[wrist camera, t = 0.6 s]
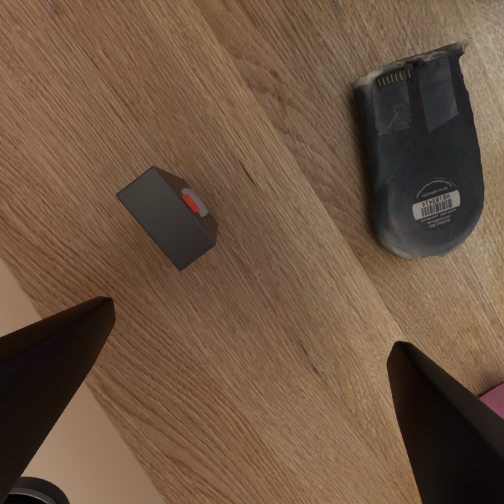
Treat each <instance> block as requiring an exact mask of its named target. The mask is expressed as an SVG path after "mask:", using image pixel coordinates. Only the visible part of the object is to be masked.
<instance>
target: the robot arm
mask: <svg viewBox="0 0 504 504" xmlns="http://www.w3.org/2000/svg"><path fill="white" fill-rule="evenodd" d="M115 320H116V317H115V309H114V302H113V299H112V298H110V297H104V296H98V297H95V298H93V299H90V300H88V301H86V302H83V303H81V304H79V305H76V306H74V307H71V308H69V309H67V310H64V311H62V312H60V313H57V314H55V315H52V316H50V317H48V318H45V319H43V320H40V321H38V322H36V323H33V324H31V325H29V326H26V327H24V328H22V329H19V330H17V331H15V332H12V333H10V334H7V335H5V336H2V337H0V504H42V503H33V502H23V501H14V500H5V499H6V498H7V496H8V495H9V493H10V492H11V490H12V488H13V487H14V485H15V484H16V482H17V481H18V479H19V478H20V476H21V475H22V473H23V472H24V470H25V469H26V467H27V466H28V464H29V463H30V461H31V459H32V458H33V457H34V455H35V454H36V452H37V450H38V449H39V447H40V446H41V444H42V443H43V441H44V440H45V438H46V437H47V435H48V434H49V432H50V430H51V429H52V427H53V426H54V425H55V423H56V422H57V420H58V418H59V417H60V416H61V414H62V412H63V411H64V409H65V408H66V406H67V405H68V403H69V402H70V400H71V399H72V397H73V396H74V394H75V393H76V391H77V390H78V388H79V387H80V385H81V384H82V382H83V381H84V379H85V378H86V376H87V375H88V373H89V371H90V370H91V368H92V367H93V365H94V363H95V361H96V359H97V357H98V355H99V353H100V352H101V350H102V348H103V346H104V344H105V342H106V340H107V338H108V336H109V334H110V332H111V330H112V328H113V326H114V324H115ZM387 371H388V377H389V382H390V387H391V392H392V398H393V403H394V408H395V413H396V417H397V421H398V424H399V428H400V431H401V434H402V438H403V441H404V444H405V448H406V451H407V454H408V457H409V461H410V464H411V467H412V471H413V474H414V477H415V481H416V484H417V487H418V491H419V494H420V497H421V500H422V504H504V419H503V418H502V417H500V416H499V415H498V414H497V413H496V412H494V411H493V410H492V409H491V408H489V407H488V406H487V405H486V404H485V403H483V402H482V401H481V400H480V399H479V398H477V397H476V396H475V395H474V394H472V393H471V392H470V391H469V390H468V389H466V388H465V387H464V386H463V385H462V384H460V383H459V382H458V381H457V380H455V379H454V378H453V377H452V376H451V375H449V374H448V373H447V372H446V371H445V370H443V369H442V368H441V367H440V366H438V365H437V364H436V363H435V362H434V361H432V360H431V359H430V358H429V357H428V356H426V355H425V354H424V353H423V352H421V351H420V350H419V349H418V348H417V347H415V346H414V345H413V344H412V343H409V342H404V341H396V342H395V343H394V345H393V347H392V350H391V352H390V354H389V357H388V359H387Z"/></svg>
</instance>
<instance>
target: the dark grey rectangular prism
mask: <svg viewBox="0 0 504 504" xmlns="http://www.w3.org/2000/svg"><path fill="white" fill-rule="evenodd" d="M116 197H117V198H118V199H119V200H120V202H121V203H122V204H123V205H124V206H125V207H126V209H127V210H128V211H129V212H130V213H131V215H132V216H133V217H134V218H135V219H136V220H137V222H138V223H139V224H140V225H141V226H142V228H143V229H144V230H145V231H146V232H147V233H148V235H149V236H150V237H151V238H152V239H153V241H154V242H155V243H156V244H157V245H158V246H159V248H160V249H161V250H162V251H163V252H164V254H165V255H166V256H167V257H168V258H169V259H170V261H171V262H172V263H173V264H174V265H175V267H176V268H177V269H178V270H179V271H182V270H183V269H185V268H186V267H187V266H188V265H190V264H191V263H192V262H194V261H195V260H196V259H198V258H199V257H200V256H202V255H203V254H204V253H206V252H207V251H208V250H210V249H211V248H212V247H214V246H215V244H216V237H217V229H218V223H217V222H216V221H215V220H214V218H213V217H212V216H211V214H210V213H209V211H208V210H207V208H206V207H205V206H204V204H203V203H202V202H201V201H200V199H199V198H198V197H197V195H196V194H195V193H194V192H193V190H192V189H190V187H189V186H188V185H187V183H186V182H185V181H184V180H183V179H182V178H180V177H177V176H175V175H173V174H171V173H168V172H166V171H164V170H162V169H159V168H157V167H155V166H152V167H151V168H149V169H148V170H147V171H146V172H144V173H143V174H142V175H140V176H139V177H138V178H136V179H135V180H134V181H133V182H131V183H130V184H129V185H127V186H126V187H125V188H124V189H122V190H121V191H120V192H118V193H117V194H116Z"/></svg>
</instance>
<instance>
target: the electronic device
mask: <svg viewBox="0 0 504 504" xmlns="http://www.w3.org/2000/svg"><path fill="white" fill-rule="evenodd" d="M470 43H471V40H470V38H468V39H466V40H463V41H460V42H457V43H453V44H450V45H447V46H444V47H441V48H438V49H436V50H433V51H430V52H426V53H423V54H419V55H415V56H412V57H408V58H404V59H402V60H399V61H396V62H393V63H390V64H388V65H386V66H383V67H381V68H378V69H376V70H374V71H371V72H369V73H368V74H367V75H366V76H365V77H360V78H358V79H357V80H356V81H355V82H354V83H353V84H350V83H349V84H350V85H351V87H352V89H353V92H354V98H355V104H356V109H357V115H358V123H359V128H360V133H361V138H362V144H363V152H364V156H365V161H366V169H367V173H368V179H369V183H370V189H371V203H370V205H371V207H370V214H371V223H372V226H373V229H374V232H375V234H376V236H377V238H378V239H379V241H380V243H381V244H382V245H383V246H384V247H385V248H386V249H387V250H388V251H390V252H391V253H393V254H394V255H396V256H398V257H400V258H403V259H406V260H413V261H414V260H417V259H421V258H423V257H425V256H442V257H443V256H445V255H447V254H449V253H451V252H452V251H454V250H455V249H457V248H458V247H459V246H461V245H462V244H463V243H464V242H465V239H466V238H467V237H468V236H469V235H470V234H471V232H472V231H473V229H474V228H475V226H476V224H477V222H478V220H479V218H480V215H481V213H482V209H483V202H484V182H483V174H482V165H481V156H480V149H479V144H478V139H477V133H476V129H475V125H474V118H473V112H472V109H471V105H470V101H469V94H468V91H467V90H466V88H465V84H464V80H463V75H462V73H461V69H460V65H459V58H460V56H462V55H463V54H464V53H465V48H466V46H468V45H469V44H470Z"/></svg>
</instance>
